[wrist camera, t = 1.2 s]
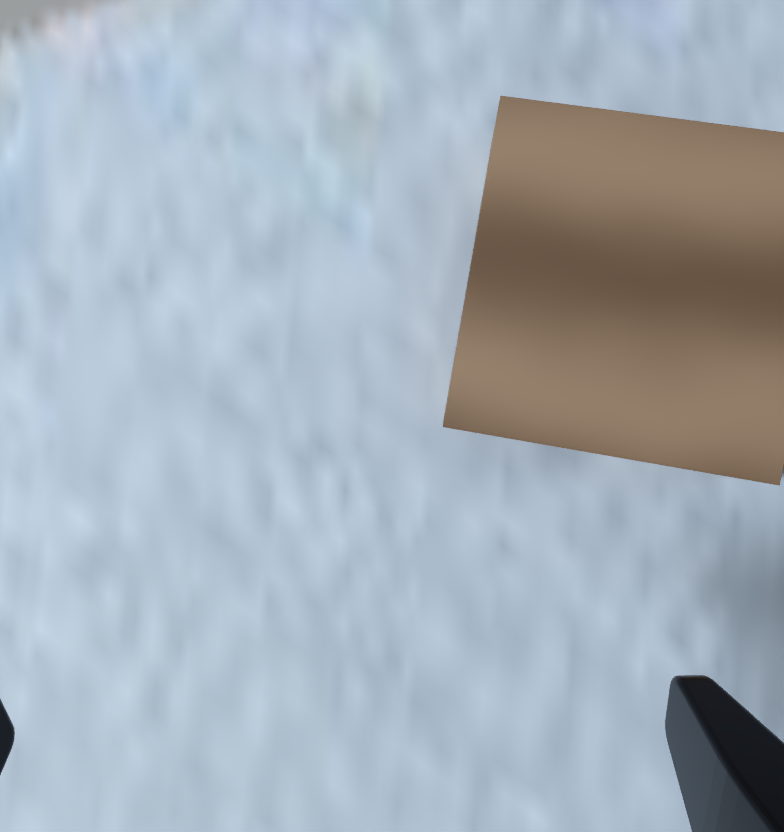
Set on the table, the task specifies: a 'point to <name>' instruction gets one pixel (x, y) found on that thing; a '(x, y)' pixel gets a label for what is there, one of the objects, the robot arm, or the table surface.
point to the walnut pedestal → (628, 290)
